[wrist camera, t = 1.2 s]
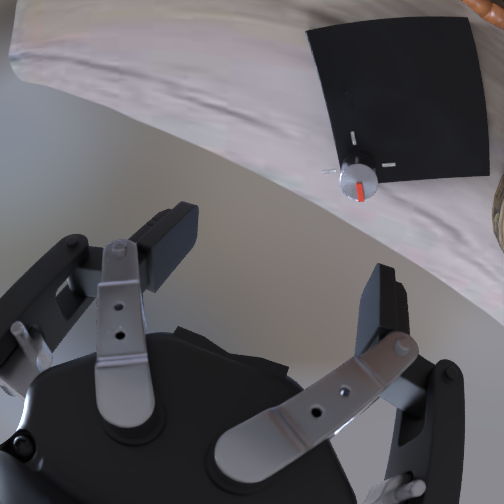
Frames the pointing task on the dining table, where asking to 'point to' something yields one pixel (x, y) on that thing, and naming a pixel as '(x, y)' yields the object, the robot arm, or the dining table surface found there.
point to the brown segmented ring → (488, 11)
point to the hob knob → (358, 176)
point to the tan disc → (499, 214)
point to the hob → (405, 96)
